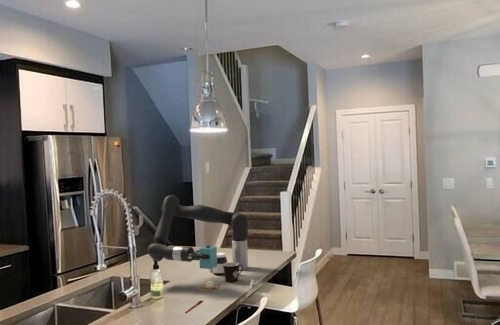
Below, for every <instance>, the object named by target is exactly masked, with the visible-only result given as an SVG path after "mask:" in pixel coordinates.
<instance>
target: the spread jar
mask: <svg viewBox="0 0 500 325" xmlns="http://www.w3.org/2000/svg"><path fill="white" fill-rule="evenodd" d="M226 255H227V254H226V253H225V252H217V266H216V267H214V268H213V269H208V271H209V272H211V273H213V275H215V276H225V274H224V268H223V264H225V263H228V259H227V257H226Z"/></svg>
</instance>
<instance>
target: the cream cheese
mask: <svg viewBox="0 0 500 325" xmlns="http://www.w3.org/2000/svg"><path fill="white" fill-rule="evenodd" d="M204 283H205V284H204V285H206V289H212V288H213V285H214V281H213V280H206V281H205V282H204Z"/></svg>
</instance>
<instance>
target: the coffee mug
mask: <svg viewBox="0 0 500 325" xmlns="http://www.w3.org/2000/svg"><path fill="white" fill-rule="evenodd" d="M239 266H242V265H239V263H234V262H233V261H232V262H227V263H225V264H223V268H224V274H225V275H224V280H225V283H229V284H230V283H231V284H232V283H237V282H238V281H239V275H241V273H242V272H243V271H244V270H243V266H242V269H241V270H239Z"/></svg>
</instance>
